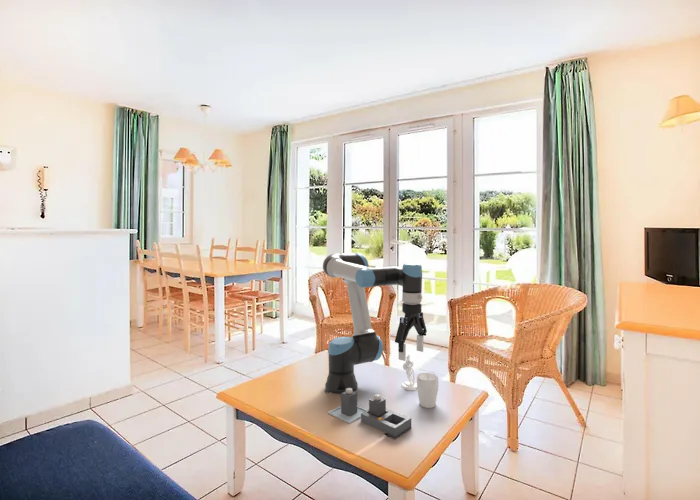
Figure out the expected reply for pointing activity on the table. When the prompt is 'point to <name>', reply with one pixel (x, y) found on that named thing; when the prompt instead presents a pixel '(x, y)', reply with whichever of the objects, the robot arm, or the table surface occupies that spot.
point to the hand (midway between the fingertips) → (411, 355)
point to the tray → (338, 414)
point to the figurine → (409, 375)
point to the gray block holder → (385, 418)
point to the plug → (349, 402)
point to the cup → (427, 389)
